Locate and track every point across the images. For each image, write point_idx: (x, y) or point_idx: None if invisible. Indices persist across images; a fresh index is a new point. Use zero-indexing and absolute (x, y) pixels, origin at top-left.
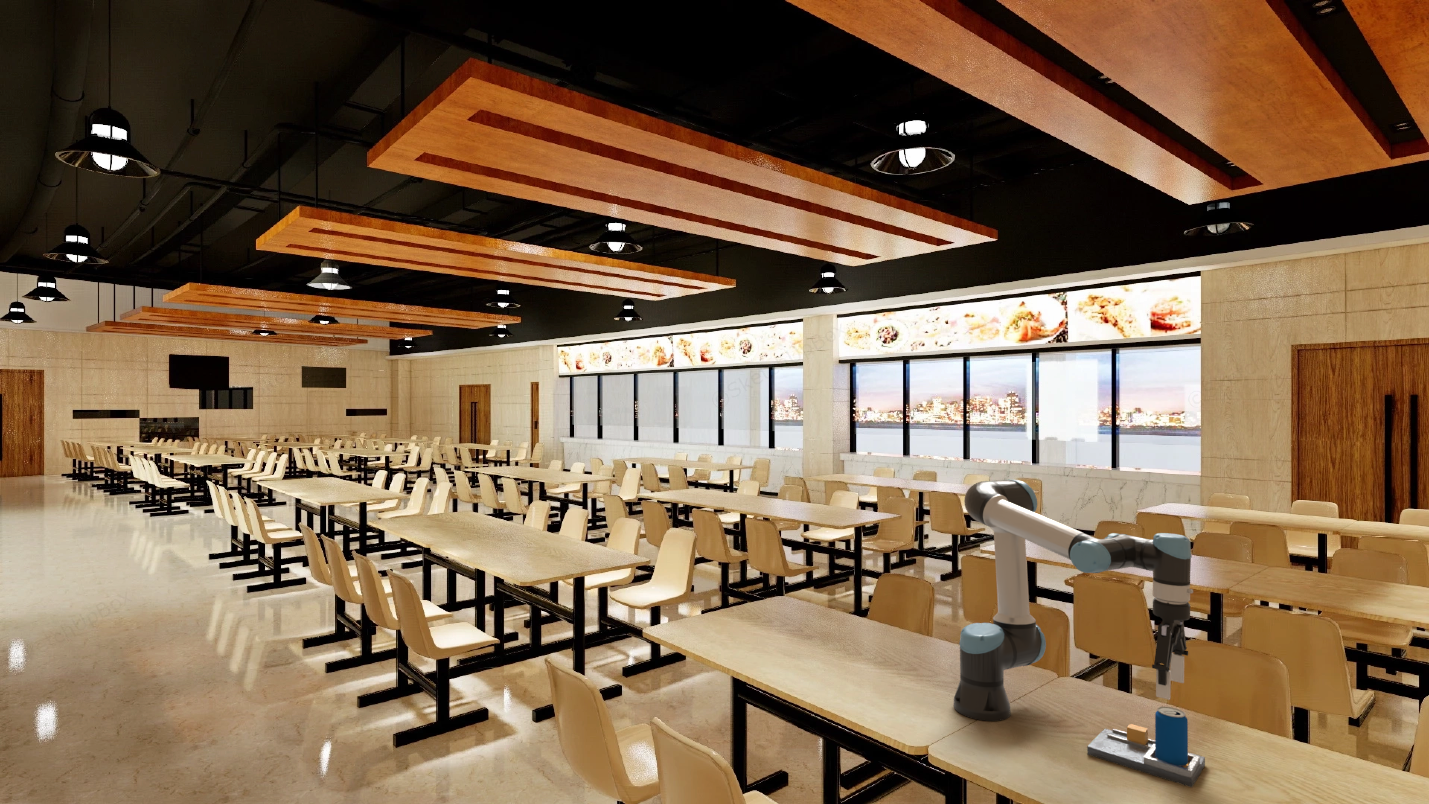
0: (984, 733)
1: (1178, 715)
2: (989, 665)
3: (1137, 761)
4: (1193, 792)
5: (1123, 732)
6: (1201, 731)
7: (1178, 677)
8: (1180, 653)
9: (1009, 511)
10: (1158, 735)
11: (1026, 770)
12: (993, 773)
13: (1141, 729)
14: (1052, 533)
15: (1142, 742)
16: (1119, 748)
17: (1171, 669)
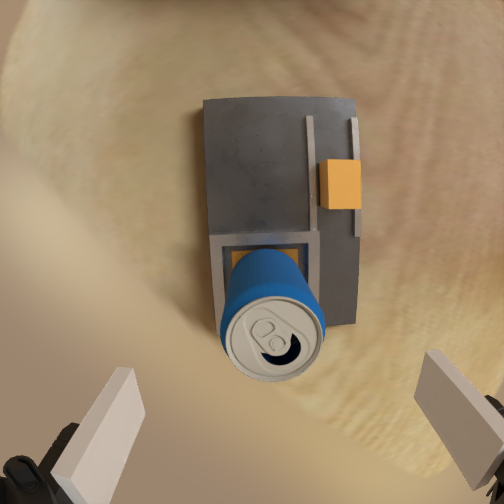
0: None
1: (264, 364)
2: None
3: (210, 218)
4: (199, 328)
5: (353, 144)
6: (496, 264)
7: (427, 395)
8: (500, 477)
9: None
10: (234, 281)
11: (52, 72)
12: (18, 55)
13: (341, 196)
14: None
15: (321, 200)
16: (255, 161)
17: (453, 387)
